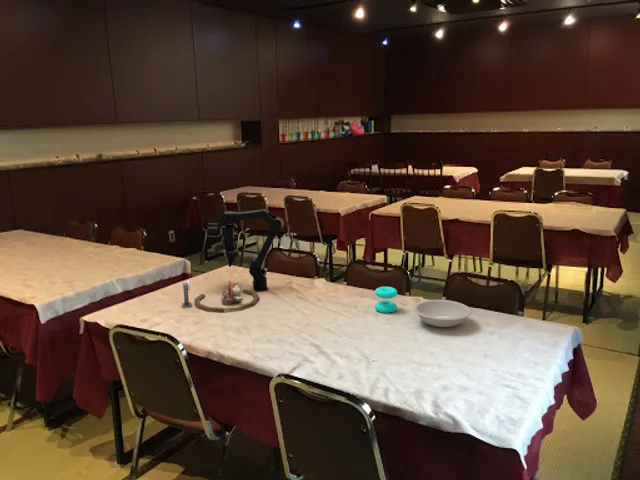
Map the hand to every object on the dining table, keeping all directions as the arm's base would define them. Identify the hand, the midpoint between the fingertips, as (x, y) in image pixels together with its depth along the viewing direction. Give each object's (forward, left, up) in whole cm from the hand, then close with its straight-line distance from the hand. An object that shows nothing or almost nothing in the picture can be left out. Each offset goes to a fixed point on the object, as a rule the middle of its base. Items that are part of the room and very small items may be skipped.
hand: (229, 266), depth 278 cm
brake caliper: (+3, +20, -12) cm, 24 cm away
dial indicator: (+24, +18, -12) cm, 32 cm away
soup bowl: (-76, +79, -12) cm, 110 cm away
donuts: (-61, +56, -12) cm, 84 cm away
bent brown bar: (+5, +20, -12) cm, 24 cm away
